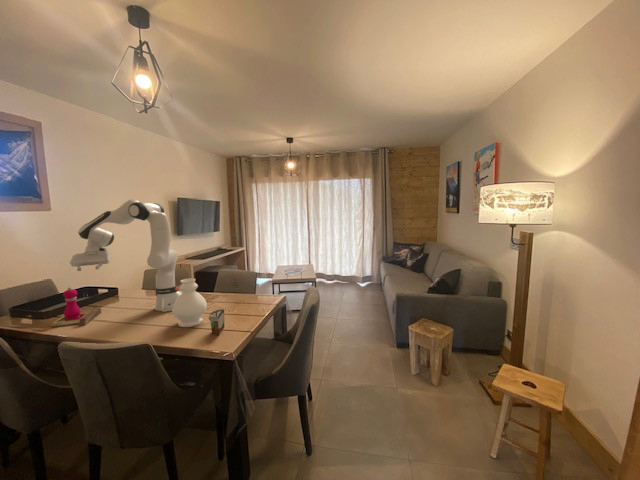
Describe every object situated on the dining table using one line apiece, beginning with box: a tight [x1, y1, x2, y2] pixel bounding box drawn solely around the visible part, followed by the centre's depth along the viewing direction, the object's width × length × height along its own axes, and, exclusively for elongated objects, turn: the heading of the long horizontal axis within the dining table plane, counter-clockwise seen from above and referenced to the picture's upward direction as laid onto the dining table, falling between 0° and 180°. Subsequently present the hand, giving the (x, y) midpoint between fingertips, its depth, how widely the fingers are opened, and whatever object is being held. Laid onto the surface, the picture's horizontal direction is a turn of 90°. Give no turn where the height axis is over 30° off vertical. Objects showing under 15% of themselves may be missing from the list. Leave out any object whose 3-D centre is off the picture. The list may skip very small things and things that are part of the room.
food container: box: [208, 308, 225, 336], centre depth 137 cm, size 12×6×10 cm, turn 5°
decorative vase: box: [171, 277, 208, 328], centre depth 148 cm, size 18×18×25 cm
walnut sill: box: [79, 306, 102, 327], centre depth 157 cm, size 2×20×4 cm, turn 20°
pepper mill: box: [62, 286, 82, 321], centre depth 153 cm, size 7×7×20 cm
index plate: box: [51, 311, 90, 328], centre depth 154 cm, size 13×13×2 cm
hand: (88, 269), depth 166 cm, fingers open, 8 cm apart
